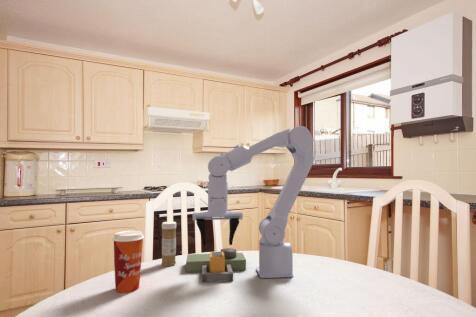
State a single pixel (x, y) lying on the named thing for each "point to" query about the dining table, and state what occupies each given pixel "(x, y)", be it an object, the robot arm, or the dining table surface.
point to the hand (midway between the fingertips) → (217, 244)
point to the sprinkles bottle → (168, 243)
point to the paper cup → (127, 260)
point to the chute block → (217, 262)
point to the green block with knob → (203, 264)
